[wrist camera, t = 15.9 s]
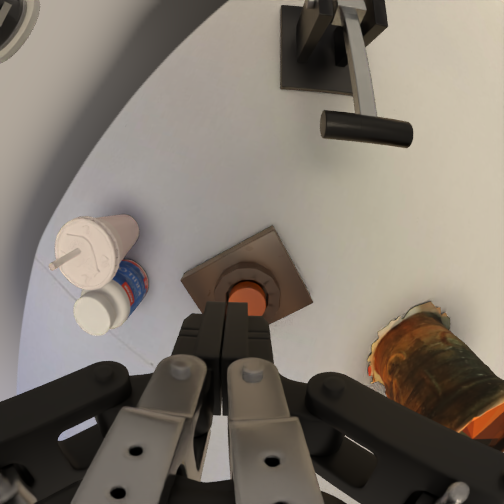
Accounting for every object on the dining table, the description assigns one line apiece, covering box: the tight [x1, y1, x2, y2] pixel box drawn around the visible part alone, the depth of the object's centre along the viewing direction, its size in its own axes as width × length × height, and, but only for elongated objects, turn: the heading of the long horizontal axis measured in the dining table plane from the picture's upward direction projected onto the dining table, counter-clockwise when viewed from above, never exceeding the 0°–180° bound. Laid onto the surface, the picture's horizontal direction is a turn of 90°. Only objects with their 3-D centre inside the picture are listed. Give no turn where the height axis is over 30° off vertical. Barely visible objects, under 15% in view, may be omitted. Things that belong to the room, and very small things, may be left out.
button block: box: [181, 226, 313, 324], centre depth 33 cm, size 11×9×4 cm
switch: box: [320, 0, 413, 148], centre depth 17 cm, size 13×6×2 cm, turn 179°
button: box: [228, 281, 266, 316], centre depth 30 cm, size 4×4×2 cm
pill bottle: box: [73, 259, 149, 336], centre depth 30 cm, size 6×5×10 cm
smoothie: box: [49, 214, 139, 290], centre depth 26 cm, size 6×6×14 cm
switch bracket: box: [280, 0, 388, 96], centre depth 21 cm, size 10×8×13 cm
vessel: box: [368, 302, 504, 452], centre depth 28 cm, size 14×14×20 cm
